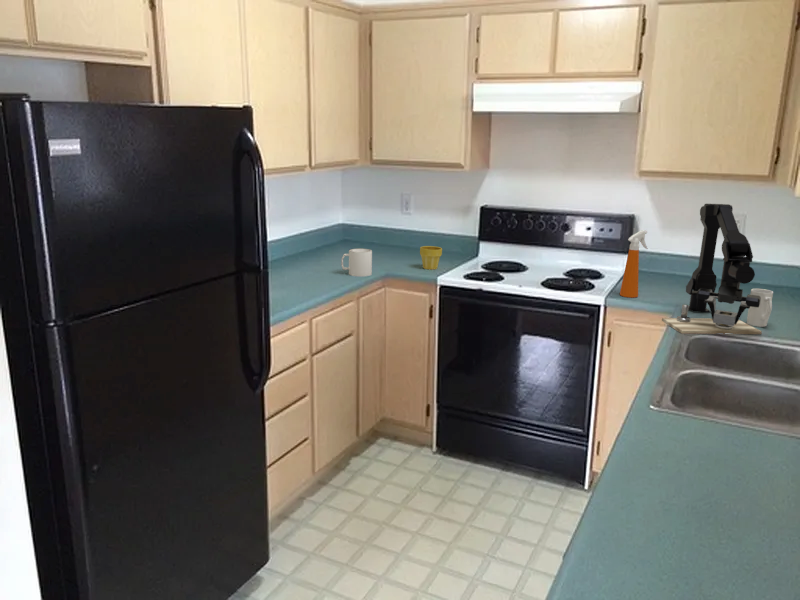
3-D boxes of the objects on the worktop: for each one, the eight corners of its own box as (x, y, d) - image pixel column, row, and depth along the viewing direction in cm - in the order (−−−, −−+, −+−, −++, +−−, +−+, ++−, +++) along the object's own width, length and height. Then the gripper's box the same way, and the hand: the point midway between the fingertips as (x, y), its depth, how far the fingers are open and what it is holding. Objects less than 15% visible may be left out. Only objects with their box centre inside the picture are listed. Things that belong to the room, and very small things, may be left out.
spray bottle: (648, 296, 265) (656, 231, 259) (628, 298, 261) (636, 232, 254) (635, 292, 271) (642, 228, 265) (615, 294, 267) (622, 230, 260)
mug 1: (341, 276, 288) (341, 252, 285) (341, 271, 298) (341, 248, 295) (372, 276, 289) (372, 252, 286) (371, 271, 299) (371, 248, 296)
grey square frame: (715, 318, 224) (716, 309, 223) (736, 321, 220) (737, 312, 220) (712, 322, 218) (714, 313, 218) (734, 325, 215) (735, 317, 214)
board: (661, 320, 230) (662, 318, 230) (736, 321, 231) (736, 318, 231) (681, 333, 215) (681, 330, 215) (761, 334, 217) (761, 331, 217)
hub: (712, 325, 222) (714, 312, 221) (727, 325, 223) (729, 312, 222) (720, 329, 217) (722, 316, 216) (735, 329, 218) (737, 316, 217)
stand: (674, 318, 229) (676, 303, 228) (686, 318, 229) (688, 303, 228) (680, 322, 225) (682, 306, 224) (692, 322, 225) (694, 306, 224)
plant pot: (445, 267, 311) (446, 247, 309) (434, 271, 303) (435, 250, 300) (426, 265, 316) (427, 245, 314) (415, 268, 308) (415, 247, 306)
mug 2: (741, 321, 232) (747, 288, 229) (760, 321, 232) (766, 288, 229) (757, 329, 222) (763, 295, 219) (777, 330, 222) (783, 295, 219)
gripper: (696, 277, 214) (690, 323, 218) (761, 285, 204) (753, 333, 208) (702, 271, 223) (695, 315, 227) (764, 279, 213) (756, 325, 217)
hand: (724, 322), depth 220 cm, fingers closed on grey square frame, 6 cm apart
